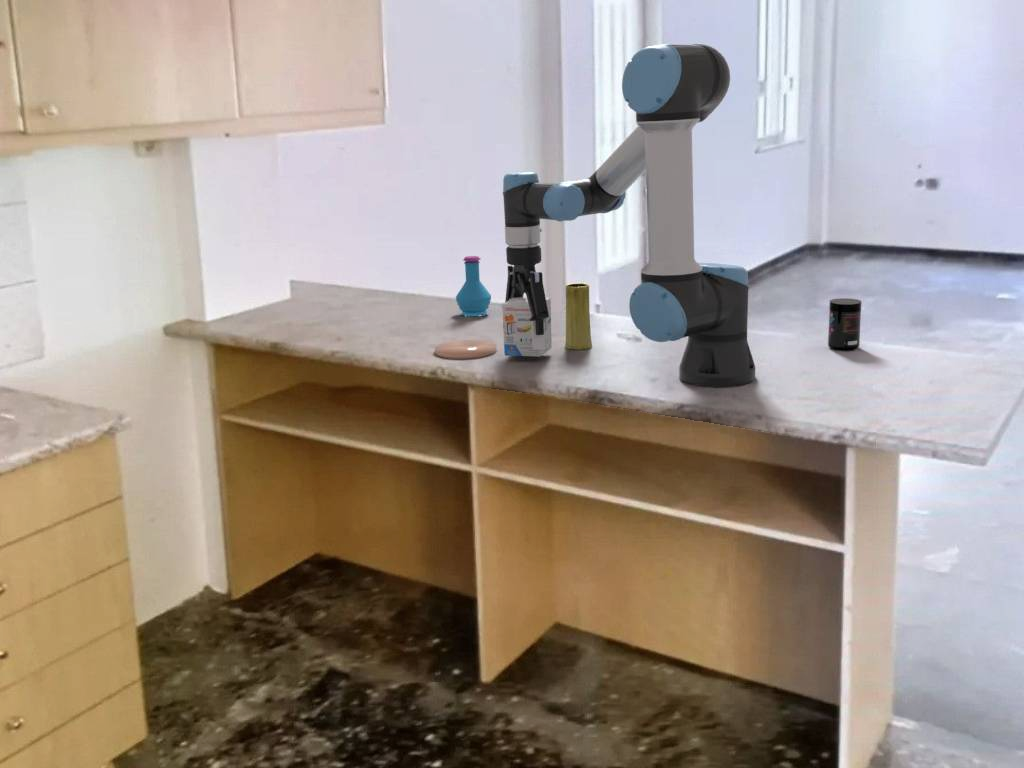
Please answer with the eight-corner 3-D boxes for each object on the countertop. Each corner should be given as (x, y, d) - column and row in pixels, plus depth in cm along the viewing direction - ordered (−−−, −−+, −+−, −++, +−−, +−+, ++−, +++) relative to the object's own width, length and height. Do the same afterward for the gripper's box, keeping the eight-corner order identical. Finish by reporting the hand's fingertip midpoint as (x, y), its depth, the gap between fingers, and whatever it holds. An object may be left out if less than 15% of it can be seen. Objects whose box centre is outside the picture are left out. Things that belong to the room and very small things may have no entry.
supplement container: (844, 343, 259) (846, 297, 256) (866, 348, 253) (868, 301, 250) (821, 347, 256) (822, 300, 253) (842, 353, 250) (844, 305, 247)
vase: (590, 350, 260) (589, 287, 256) (563, 350, 261) (561, 287, 257) (593, 344, 266) (592, 282, 262) (567, 343, 267) (565, 282, 263)
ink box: (503, 355, 253) (500, 302, 250) (516, 347, 260) (513, 295, 257) (540, 357, 250) (538, 303, 247) (552, 348, 257) (550, 296, 255)
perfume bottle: (491, 317, 298) (488, 259, 294) (455, 318, 298) (452, 260, 295) (492, 309, 307) (490, 253, 303) (457, 311, 307) (454, 254, 303)
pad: (505, 354, 259) (505, 349, 259) (446, 361, 254) (446, 357, 254) (483, 341, 272) (483, 337, 272) (426, 348, 267) (426, 344, 267)
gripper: (562, 249, 240) (565, 352, 245) (518, 237, 261) (522, 332, 267) (528, 253, 237) (533, 356, 243) (487, 241, 259) (492, 336, 264)
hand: (527, 344), depth 255 cm, fingers closed on ink box, 11 cm apart
